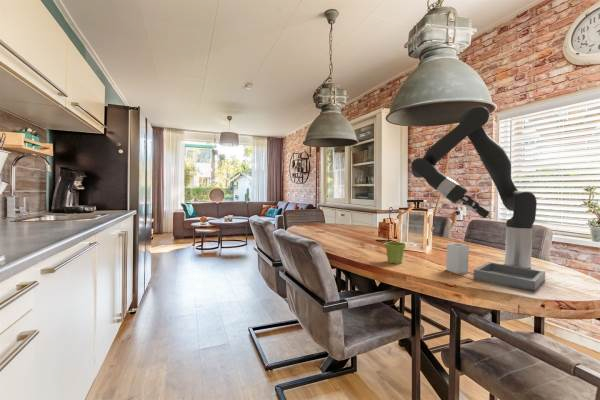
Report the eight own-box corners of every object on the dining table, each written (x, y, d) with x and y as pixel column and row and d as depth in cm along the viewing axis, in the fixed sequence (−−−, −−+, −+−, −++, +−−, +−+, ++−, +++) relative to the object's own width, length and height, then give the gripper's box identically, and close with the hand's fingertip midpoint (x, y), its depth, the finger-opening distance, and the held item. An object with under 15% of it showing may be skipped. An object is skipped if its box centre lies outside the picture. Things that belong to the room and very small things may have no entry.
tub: (456, 269, 120) (457, 243, 120) (468, 272, 115) (468, 245, 114) (446, 270, 118) (446, 243, 118) (457, 273, 113) (458, 246, 113)
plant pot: (391, 265, 124) (392, 246, 124) (380, 260, 133) (380, 242, 133) (410, 264, 127) (410, 245, 126) (397, 259, 136) (397, 241, 136)
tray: (488, 270, 118) (488, 262, 118) (544, 281, 105) (545, 271, 105) (473, 278, 107) (473, 269, 106) (534, 292, 93) (535, 281, 93)
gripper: (457, 180, 113) (495, 206, 105) (458, 186, 125) (493, 210, 117) (443, 195, 114) (480, 221, 107) (446, 199, 127) (479, 223, 119)
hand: (487, 215), depth 112 cm, fingers open, 8 cm apart
